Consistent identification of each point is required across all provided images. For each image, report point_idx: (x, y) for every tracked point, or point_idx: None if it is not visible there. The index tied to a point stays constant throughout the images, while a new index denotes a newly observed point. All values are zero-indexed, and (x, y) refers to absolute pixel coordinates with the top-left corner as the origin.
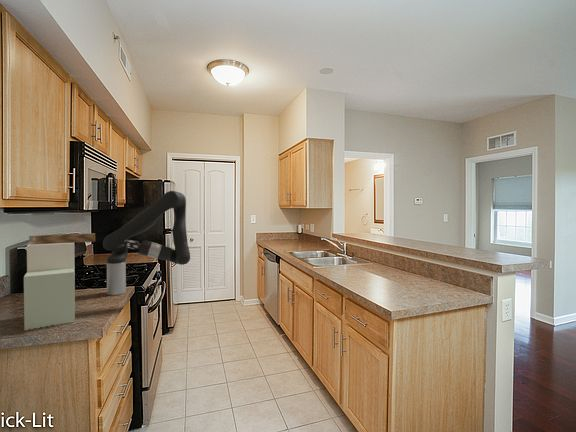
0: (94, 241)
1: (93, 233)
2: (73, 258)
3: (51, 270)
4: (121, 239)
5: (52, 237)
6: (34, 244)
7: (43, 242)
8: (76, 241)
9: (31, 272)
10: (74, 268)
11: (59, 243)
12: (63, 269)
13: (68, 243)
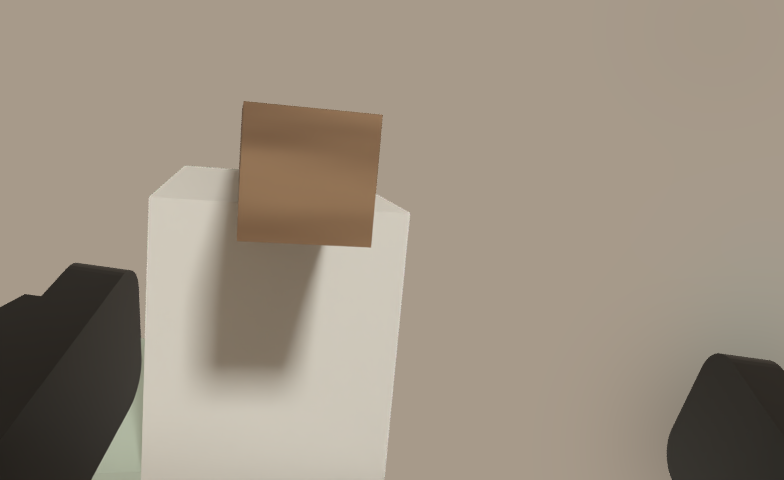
0: (238, 236)
1: (353, 112)
2: (144, 366)
3: (138, 390)
4: (766, 464)
5: (241, 127)
6: (236, 172)
7: (239, 164)
8: (238, 192)
9: (144, 346)
10: (107, 472)
11: (219, 186)
12: (122, 427)
13: (168, 191)
